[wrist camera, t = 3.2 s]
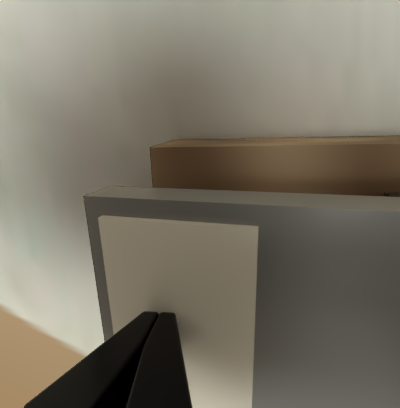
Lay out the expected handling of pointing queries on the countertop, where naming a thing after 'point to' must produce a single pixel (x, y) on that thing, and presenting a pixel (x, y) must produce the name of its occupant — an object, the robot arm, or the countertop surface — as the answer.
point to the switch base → (281, 165)
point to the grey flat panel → (259, 290)
